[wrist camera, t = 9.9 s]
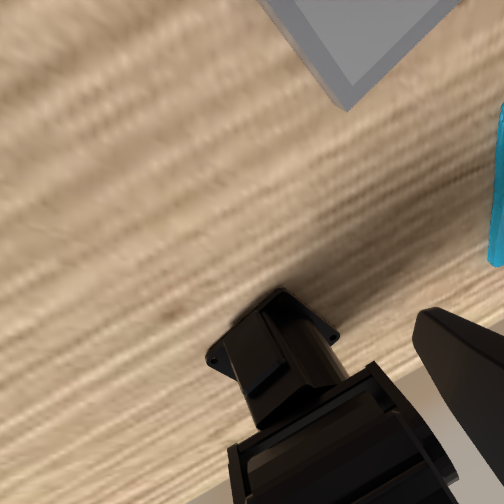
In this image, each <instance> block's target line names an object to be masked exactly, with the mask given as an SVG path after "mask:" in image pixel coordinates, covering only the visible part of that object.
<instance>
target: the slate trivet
mask: <svg viewBox="0 0 504 504" xmlns="http://www.w3.org/2000/svg"><path fill="white" fill-rule="evenodd" d="M257 1H258V2H259V3H260V5H261V6H262V7H263V9H264V10H265V11H266V13H267V14H268V15H269V17H270V18H271V20H272V21H273V22H274V24H275V25H276V26H277V28H278V29H279V30H280V32H281V33H282V34H283V36H284V37H285V38H286V40H287V41H288V43H289V44H290V45H291V47H292V48H293V49H294V51H295V52H296V53H297V55H298V56H299V57H300V59H301V60H302V61H303V63H304V64H305V66H306V67H307V68H308V70H309V71H310V72H311V74H312V75H313V76H314V78H315V79H316V80H317V82H318V83H319V85H320V86H321V87H322V89H323V90H324V91H325V93H326V94H327V95H328V97H329V98H330V99H331V101H332V102H333V103H334V105H335V106H337V107H339V108H340V109H342V110H344V111H346V112H348V111H349V110H350V109H351V108H352V107H353V106H354V105H355V104H356V103H357V102H358V101H359V100H360V99H361V98H362V97H363V96H364V95H365V94H366V93H367V92H368V91H370V90H371V89H372V88H373V87H374V86H375V85H376V84H377V83H378V82H379V81H380V80H381V79H382V78H383V77H384V76H385V75H386V74H387V73H388V72H389V71H390V70H391V69H392V68H393V67H394V66H395V65H396V64H397V63H398V62H399V61H400V60H401V59H402V58H403V57H404V56H405V55H406V54H407V53H408V52H409V51H410V50H411V49H412V48H413V47H414V46H415V45H417V44H418V43H419V42H420V41H421V40H422V39H423V38H424V37H425V36H426V35H427V34H428V33H429V32H430V31H431V30H432V29H433V28H434V27H435V26H436V25H437V24H438V23H439V22H440V21H441V20H442V19H443V18H444V17H445V16H446V15H447V14H448V13H449V12H450V11H451V10H452V9H453V8H454V7H455V6H456V5H457V4H458V3H459V2H460V1H461V0H257Z"/></svg>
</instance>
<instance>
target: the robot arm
mask: <svg viewBox="0 0 504 504" xmlns="http://www.w3.org/2000/svg"><path fill="white" fill-rule="evenodd" d="M282 295H283V297H281V298H279V297H280V296H282ZM339 338H340V334H339V332H338V331H337V329H336V328H335V327H333V326H332V325H331V324H330V323H328V322H327V321H326V320H325V319H323V318H322V317H321V316H320V315H318V314H317V313H316V312H315V311H313V310H312V309H311V308H310V307H308V306H307V305H306V304H305V303H303V302H302V301H301V300H300V299H298V298H297V297H296V296H295V295H293V294H292V293H291V292H290V291H288V290H287V289H286V288H278V289H276V290H275V291H274V292H273V293H271V294H270V295H269V296H268V297H267V298H266V299H265V300H264V301H263V302H262V303H261V304H260V305H258V306H257V307H256V308H255V309H254V310H253V311H252V312H251V313H250V314H249V315H248V316H247V317H245V318H244V319H243V320H242V321H241V322H240V323H239V324H238V325H237V326H236V327H235V328H234V329H232V330H231V331H230V332H229V333H228V334H227V335H226V336H225V337H224V338H223V339H222V340H221V341H219V342H218V343H217V344H216V345H215V346H214V347H213V348H212V349H211V350H210V351H209V352H208V353H207V354H206V355H205V360H206V363H207V365H208V366H209V367H211V368H213V369H215V370H217V371H219V372H221V373H222V374H224V375H226V376H228V377H230V378H232V379H234V380H235V381H237V382H238V384H239V386H240V389H241V391H242V394H243V395H244V397H245V400H246V403H247V405H248V408H249V410H250V413H251V416H252V418H253V421H254V423H255V426H256V428H257V430H258V432H257V433H256V434H254V435H252V436H251V437H249V438H247V439H246V440H244V441H242V442H241V443H239V444H237V443H235V444H234V445H232V446H230V447H229V448H227V452H228V459H229V464H228V469H229V476H230V483H231V489H232V496H233V503H234V504H459V503H458V502H457V501H456V499H455V497H454V495H453V494H452V492H451V491H450V489H449V488H448V486H449V485H451V484H452V483H454V482H456V481H458V480H459V476H458V474H457V471H456V470H455V468H454V466H453V464H452V462H451V460H450V459H449V457H448V455H447V454H446V452H445V451H444V449H443V448H442V446H441V444H440V443H439V441H438V440H437V438H436V437H435V435H434V434H433V432H432V431H431V429H430V428H429V426H428V425H427V424H426V422H425V421H424V420H423V418H422V417H421V416H420V414H419V413H418V412H417V411H416V409H415V408H414V407H413V406H412V404H411V403H410V402H409V401H408V400H407V399H406V398H405V396H404V395H403V394H402V393H401V392H400V390H399V389H398V388H397V387H396V386H395V385H394V383H393V382H392V381H391V380H390V379H389V377H388V376H387V375H386V374H385V373H384V372H383V370H382V369H381V368H380V367H379V366H378V365H377V363H376V362H375V361H373V362H371V363H369V364H368V365H366V366H365V367H366V368H364V369H363V370H361V371H359V372H358V373H356V374H354V375H353V376H351V377H350V376H349V374H348V373H347V371H346V370H345V368H344V367H343V365H342V364H341V362H340V361H339V359H338V358H337V356H336V355H335V353H334V352H333V350H332V348H331V346H332V345H333V344H334V343H335V342H336V341H338V339H339ZM412 341H413V345H414V348H415V350H416V352H417V353H418V355H419V357H420V359H421V360H422V362H423V364H424V366H425V367H426V369H427V371H428V373H429V375H430V376H431V378H432V380H433V382H434V383H435V385H436V387H437V389H438V390H439V392H440V394H441V396H442V398H443V399H444V401H445V403H446V404H447V406H448V407H449V409H450V410H451V412H452V413H453V415H454V416H455V418H456V419H457V421H458V422H459V424H460V425H461V426H462V428H463V429H464V431H465V432H466V434H467V435H468V436H469V438H470V439H471V441H472V442H473V444H474V445H475V446H476V448H477V449H478V451H479V452H480V454H481V455H482V456H483V458H484V459H485V460H486V462H487V464H488V465H489V466H490V468H491V469H492V471H493V472H494V473H495V475H496V476H497V478H498V479H499V481H500V482H501V483H502V485H503V486H504V336H503V335H500V334H498V333H496V332H494V331H491V330H489V329H487V328H485V327H482V326H480V325H478V324H476V323H473V322H471V321H469V320H466V319H464V318H462V317H460V316H457V315H455V314H453V313H451V312H448V311H446V310H444V309H442V308H439V307H432V308H428V309H424V310H421V311H420V312H419V313H418V315H417V319H416V323H415V327H414V331H413V335H412ZM213 358H215V359H213Z"/></svg>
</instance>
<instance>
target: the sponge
mask: <svg viewBox="0 0 504 504" xmlns="http://www.w3.org/2000/svg"><path fill="white" fill-rule="evenodd" d="M495 164H496V165H495V180H494V184H495V185H494V189H495V191H494V197H493V198H494V199H493V202H494V203H493V207H492V213H491V215H492V216H491V221H490V238H489V249H488V262H490V264H492V266H494V267H500V266H503V265H504V103H503V105H502V106H501V114H500V119H499V122H498V133H497V147H496V163H495Z"/></svg>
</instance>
